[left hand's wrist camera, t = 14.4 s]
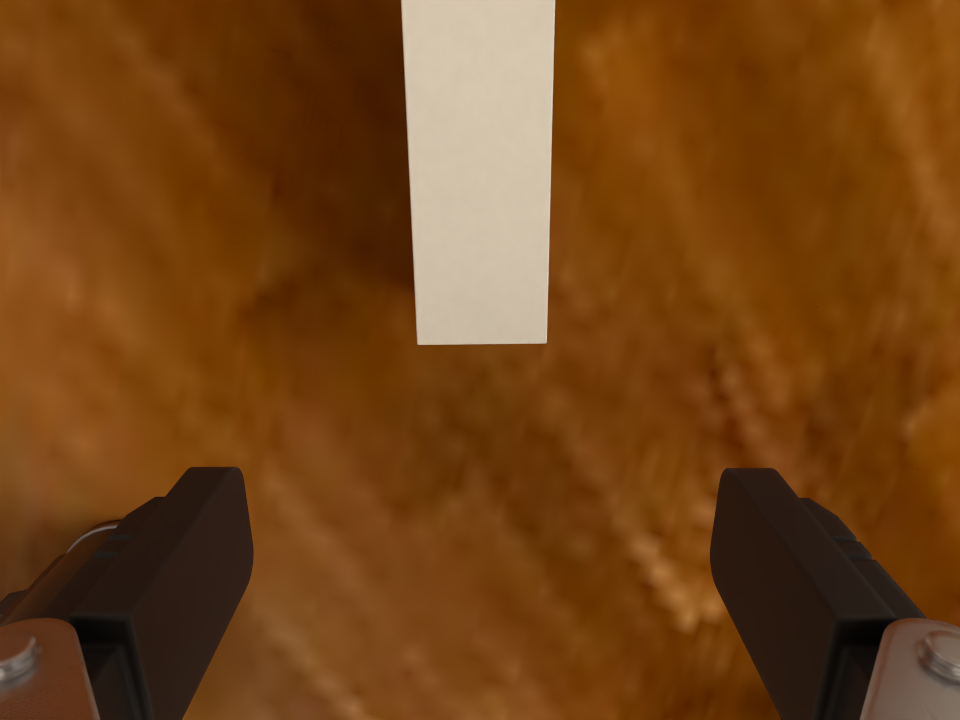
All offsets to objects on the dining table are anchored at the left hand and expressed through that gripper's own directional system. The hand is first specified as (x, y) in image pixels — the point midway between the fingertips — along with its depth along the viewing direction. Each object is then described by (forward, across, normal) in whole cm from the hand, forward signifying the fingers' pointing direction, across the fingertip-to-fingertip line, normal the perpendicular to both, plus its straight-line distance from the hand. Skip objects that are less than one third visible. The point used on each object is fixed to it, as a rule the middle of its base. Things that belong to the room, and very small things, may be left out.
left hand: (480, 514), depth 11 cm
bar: (+28, 0, -10) cm, 29 cm away
